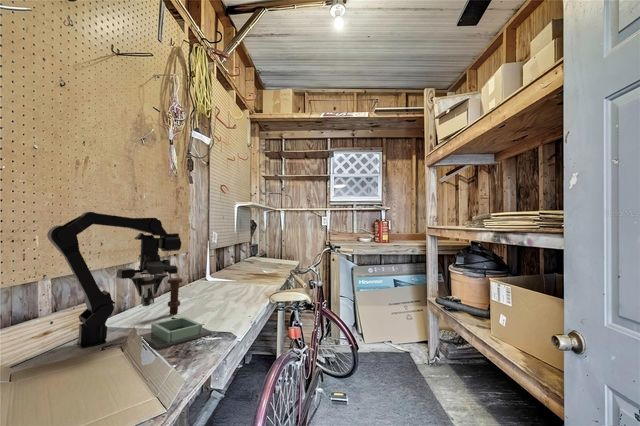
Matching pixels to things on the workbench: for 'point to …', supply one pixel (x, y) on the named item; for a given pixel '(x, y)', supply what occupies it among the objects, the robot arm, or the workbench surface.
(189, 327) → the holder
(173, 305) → the bolt
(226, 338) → the workbench surface
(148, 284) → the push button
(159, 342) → the mounting plate
